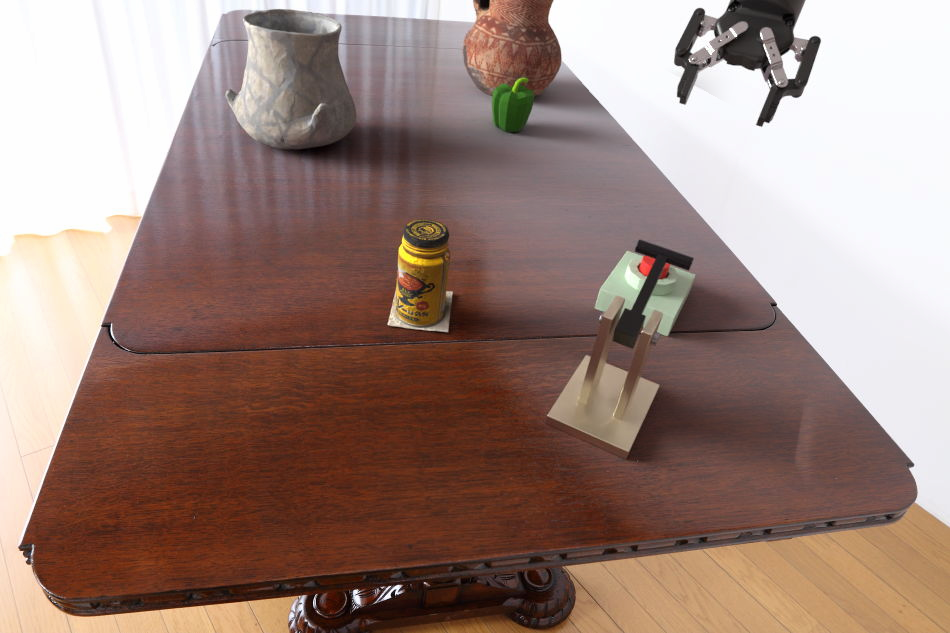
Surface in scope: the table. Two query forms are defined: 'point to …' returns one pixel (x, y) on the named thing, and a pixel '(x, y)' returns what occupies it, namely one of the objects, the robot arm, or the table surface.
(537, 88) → the jug
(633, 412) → the bracket
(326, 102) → the vessel
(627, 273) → the stop block
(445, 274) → the condiment
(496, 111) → the bell pepper
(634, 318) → the lever
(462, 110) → the table surface
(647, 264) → the stop button
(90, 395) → the table surface
